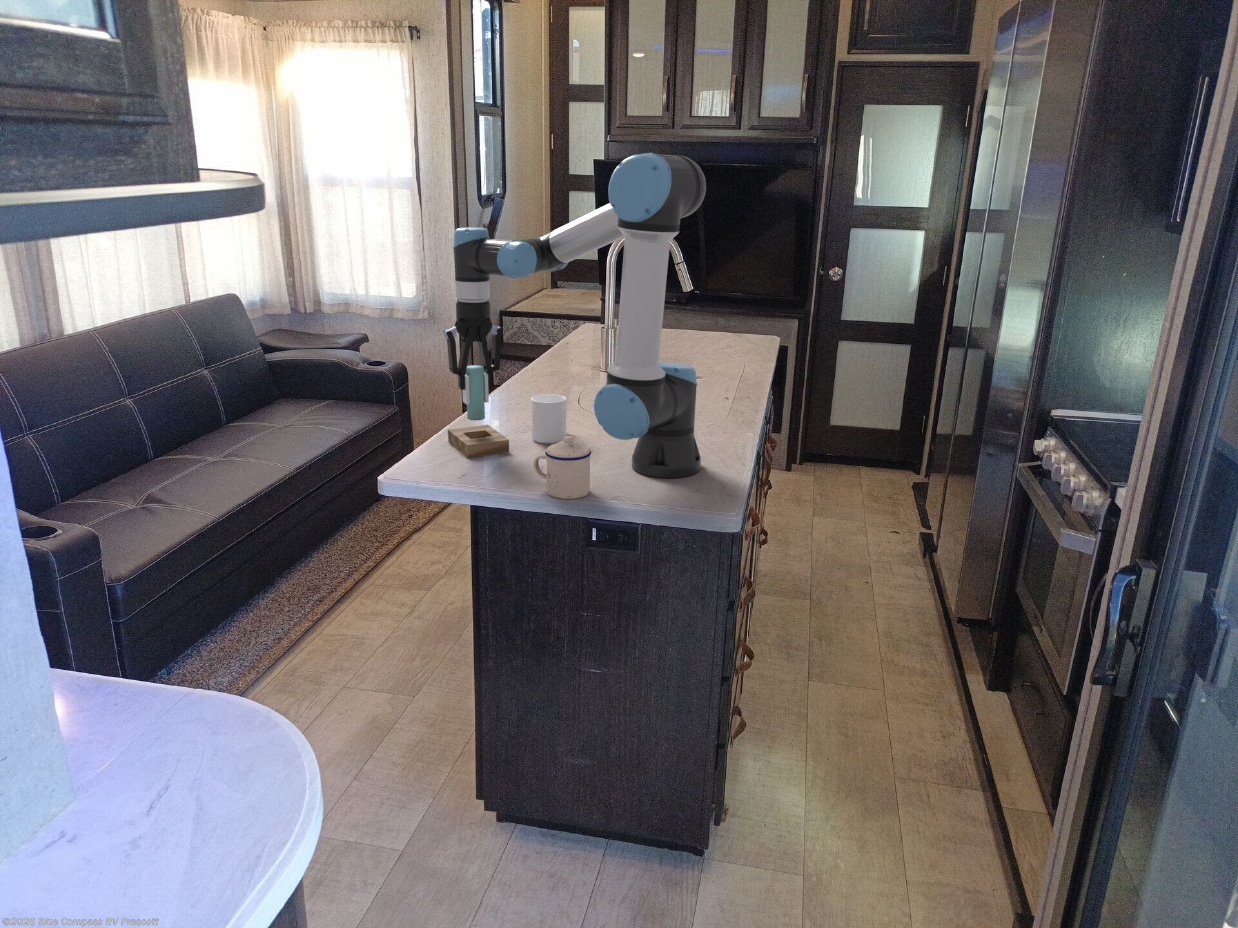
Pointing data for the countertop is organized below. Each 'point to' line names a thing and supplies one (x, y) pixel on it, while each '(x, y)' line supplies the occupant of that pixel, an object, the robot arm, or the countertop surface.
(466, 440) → the socket
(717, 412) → the countertop surface
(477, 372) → the peg
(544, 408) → the cup
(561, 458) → the teacup with lid
